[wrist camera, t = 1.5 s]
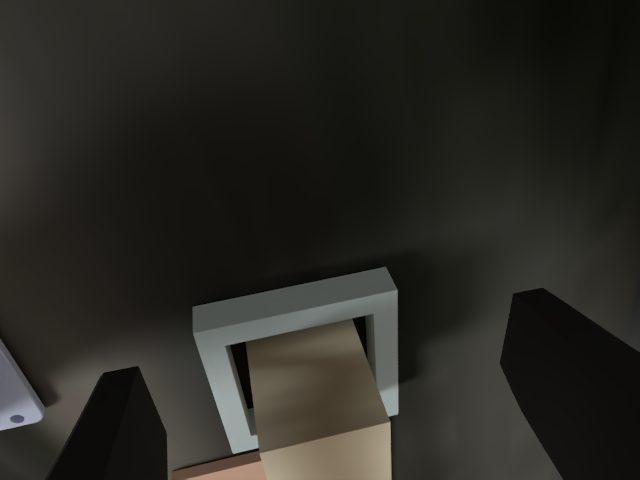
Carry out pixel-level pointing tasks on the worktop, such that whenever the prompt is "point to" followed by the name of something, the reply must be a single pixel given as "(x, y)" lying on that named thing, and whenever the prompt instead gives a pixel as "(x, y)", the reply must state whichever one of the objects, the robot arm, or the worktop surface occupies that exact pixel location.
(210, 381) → the holder
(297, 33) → the worktop surface
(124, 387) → the robot arm
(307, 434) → the birch block
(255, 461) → the mat
